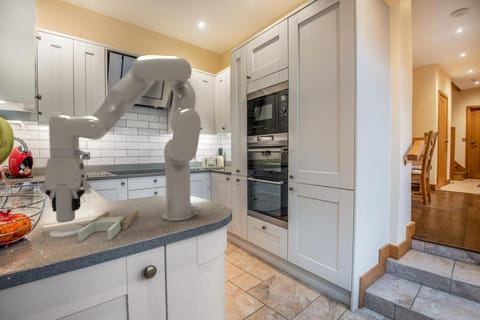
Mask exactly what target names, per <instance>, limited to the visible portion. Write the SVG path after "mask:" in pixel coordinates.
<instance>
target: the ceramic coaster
mask: <svg viewBox="0 0 480 320" xmlns="http://www.w3.org/2000/svg"><path fill="white" fill-rule="evenodd" d="M84 227H85V226H84V225H79V224H78V225H77V224H75V225H67V226H61V227H59V228H55V229H53V230H51V231H49V237H50V238H55V239H56V238H57V239H58V238H67V237H72V236H75V235H78V231H79V230H81V229H82V228H84Z"/></svg>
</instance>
